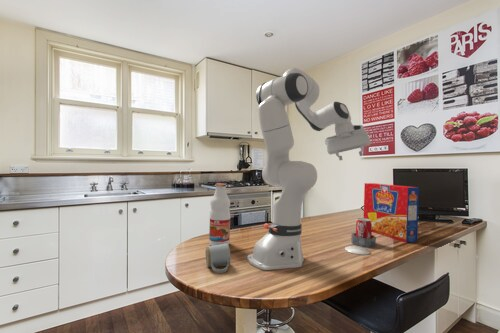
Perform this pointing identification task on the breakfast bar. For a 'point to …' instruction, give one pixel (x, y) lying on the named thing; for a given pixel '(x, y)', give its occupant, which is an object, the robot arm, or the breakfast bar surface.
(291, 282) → the breakfast bar surface
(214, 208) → the fruit juice
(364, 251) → the coaster
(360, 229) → the soda can
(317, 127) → the robot arm
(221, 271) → the ceramic mug
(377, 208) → the pasta box
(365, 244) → the metal collar
